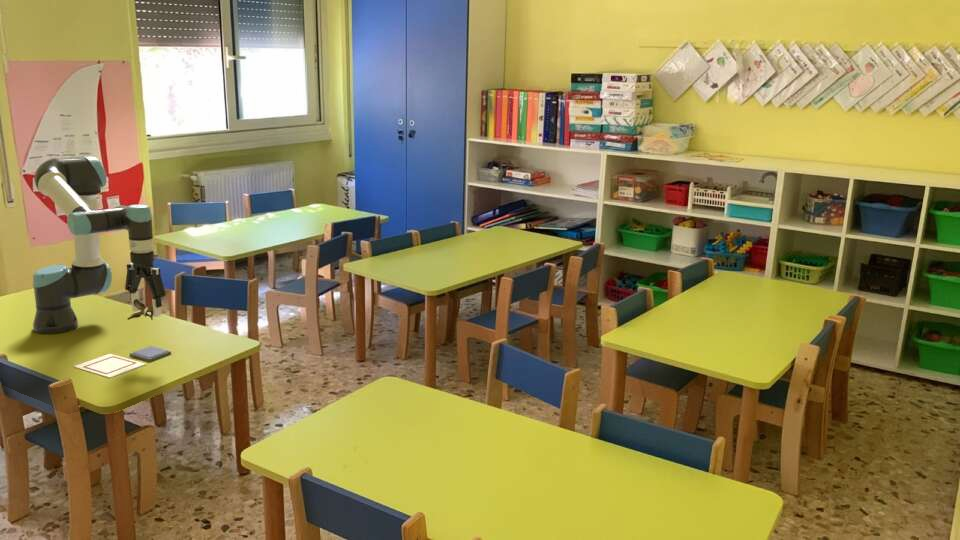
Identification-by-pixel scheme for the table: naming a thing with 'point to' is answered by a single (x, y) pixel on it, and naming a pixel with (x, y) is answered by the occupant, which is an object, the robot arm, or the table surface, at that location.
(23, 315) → the table surface
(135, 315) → the eagle figurine
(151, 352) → the ink pad
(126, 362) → the print sheet
